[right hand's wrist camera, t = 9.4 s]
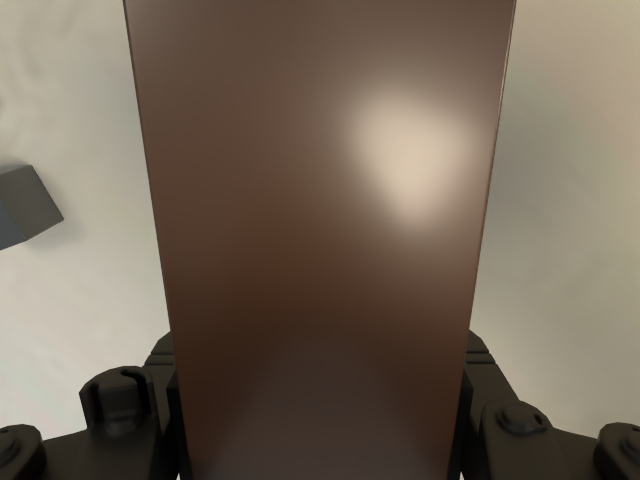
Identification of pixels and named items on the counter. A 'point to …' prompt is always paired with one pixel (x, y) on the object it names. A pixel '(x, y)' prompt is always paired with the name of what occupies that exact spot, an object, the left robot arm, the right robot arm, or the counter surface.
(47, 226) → the slate cube
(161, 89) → the walnut bar
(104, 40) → the counter surface
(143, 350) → the counter surface
